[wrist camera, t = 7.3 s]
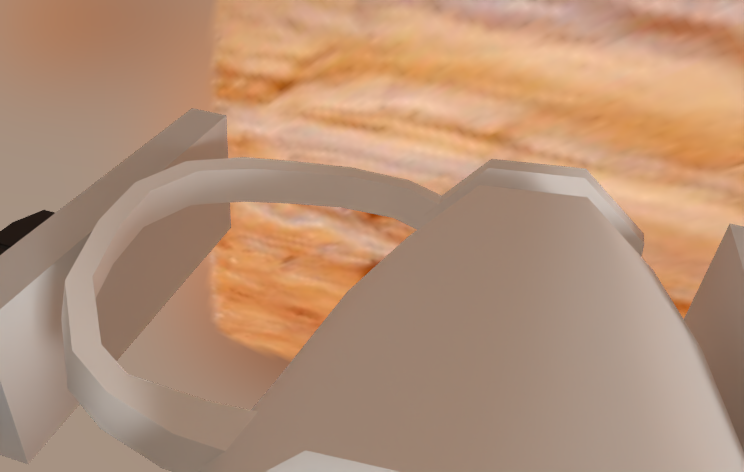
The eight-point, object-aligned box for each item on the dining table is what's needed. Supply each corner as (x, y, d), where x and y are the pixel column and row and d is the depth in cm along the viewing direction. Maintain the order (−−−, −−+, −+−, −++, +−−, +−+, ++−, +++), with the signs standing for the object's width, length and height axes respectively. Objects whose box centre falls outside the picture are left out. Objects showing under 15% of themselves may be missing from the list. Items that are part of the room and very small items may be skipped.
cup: (590, 431, 15) (579, 898, 9) (201, 238, 15) (-87, 555, 9) (819, 200, 11) (1119, 769, 5) (280, -62, 11) (-155, 133, 5)
